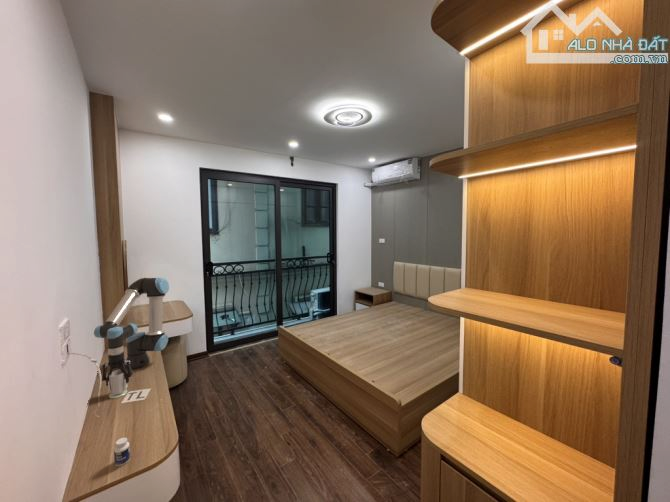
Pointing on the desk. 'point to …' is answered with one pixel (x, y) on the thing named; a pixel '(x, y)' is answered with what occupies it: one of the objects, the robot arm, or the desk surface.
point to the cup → (117, 382)
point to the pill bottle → (121, 452)
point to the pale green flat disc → (118, 394)
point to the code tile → (136, 395)
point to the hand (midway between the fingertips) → (118, 389)
